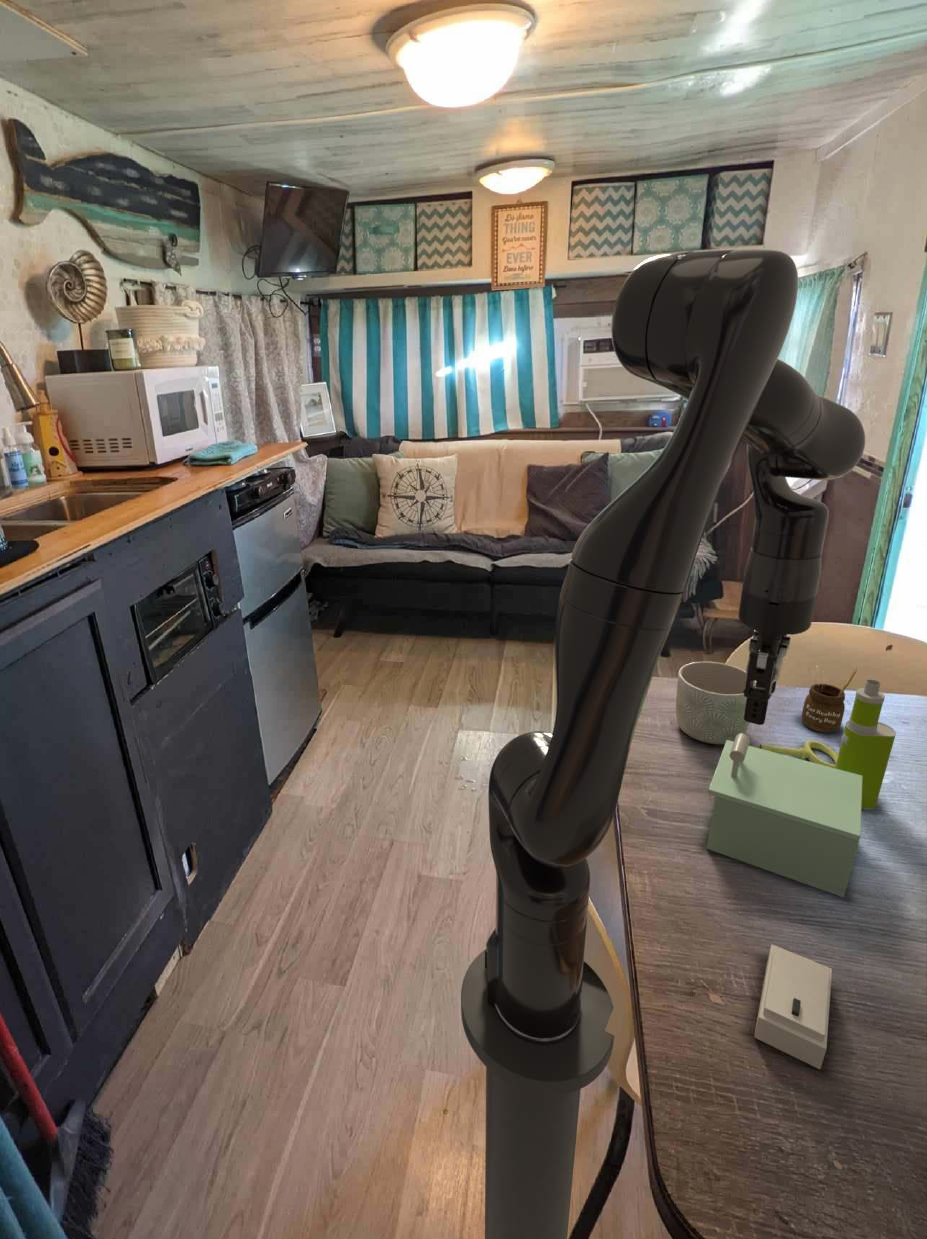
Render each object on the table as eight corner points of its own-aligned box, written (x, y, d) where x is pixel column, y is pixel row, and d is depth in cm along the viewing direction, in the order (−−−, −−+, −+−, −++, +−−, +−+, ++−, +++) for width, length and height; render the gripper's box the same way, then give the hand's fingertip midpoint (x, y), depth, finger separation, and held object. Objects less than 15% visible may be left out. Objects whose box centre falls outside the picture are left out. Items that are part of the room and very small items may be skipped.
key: (753, 754, 107) (755, 743, 106) (819, 745, 109) (822, 734, 108) (784, 780, 100) (787, 769, 100) (854, 770, 102) (857, 759, 101)
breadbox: (706, 848, 88) (715, 796, 85) (724, 794, 98) (732, 746, 95) (843, 897, 79) (858, 841, 76) (847, 832, 90) (861, 780, 86)
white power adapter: (820, 1070, 61) (829, 1038, 59) (753, 1037, 64) (761, 1006, 63) (826, 988, 69) (835, 958, 67) (767, 963, 72) (773, 933, 70)
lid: (707, 794, 85) (712, 762, 84) (725, 744, 96) (730, 714, 94) (859, 841, 76) (868, 806, 74) (861, 780, 86) (869, 748, 84)
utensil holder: (802, 712, 118) (814, 654, 114) (843, 722, 114) (857, 662, 110) (798, 727, 114) (810, 667, 109) (840, 738, 110) (855, 676, 106)
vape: (823, 790, 98) (850, 675, 91) (867, 794, 97) (899, 677, 89) (834, 806, 94) (863, 688, 87) (880, 810, 93) (913, 690, 86)
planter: (746, 759, 106) (756, 702, 102) (666, 740, 112) (673, 685, 108) (751, 723, 116) (761, 669, 112) (677, 707, 122) (684, 655, 118)
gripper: (753, 564, 82) (736, 675, 88) (732, 602, 72) (715, 724, 78) (822, 573, 78) (800, 688, 84) (811, 613, 68) (786, 742, 74)
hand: (759, 706), depth 81 cm, fingers open, 8 cm apart
